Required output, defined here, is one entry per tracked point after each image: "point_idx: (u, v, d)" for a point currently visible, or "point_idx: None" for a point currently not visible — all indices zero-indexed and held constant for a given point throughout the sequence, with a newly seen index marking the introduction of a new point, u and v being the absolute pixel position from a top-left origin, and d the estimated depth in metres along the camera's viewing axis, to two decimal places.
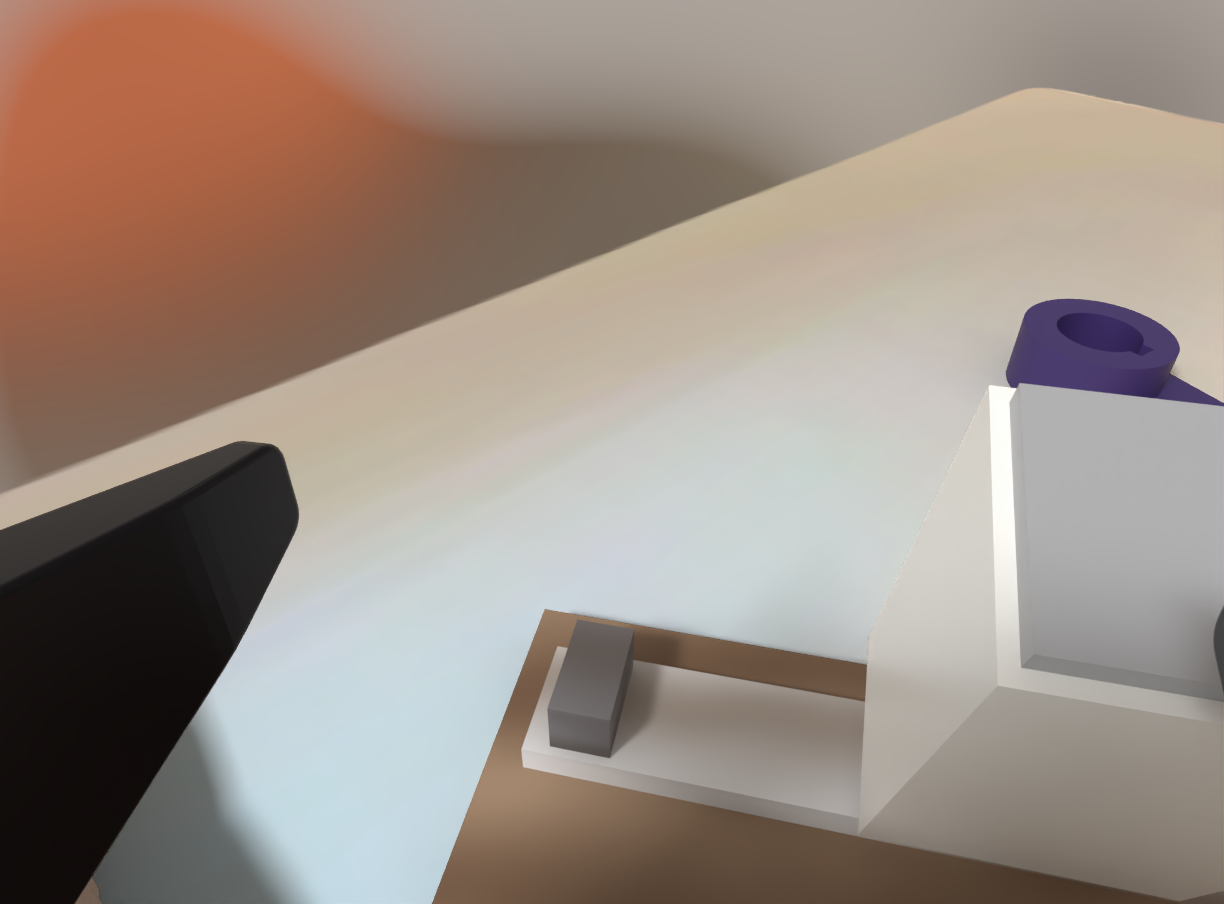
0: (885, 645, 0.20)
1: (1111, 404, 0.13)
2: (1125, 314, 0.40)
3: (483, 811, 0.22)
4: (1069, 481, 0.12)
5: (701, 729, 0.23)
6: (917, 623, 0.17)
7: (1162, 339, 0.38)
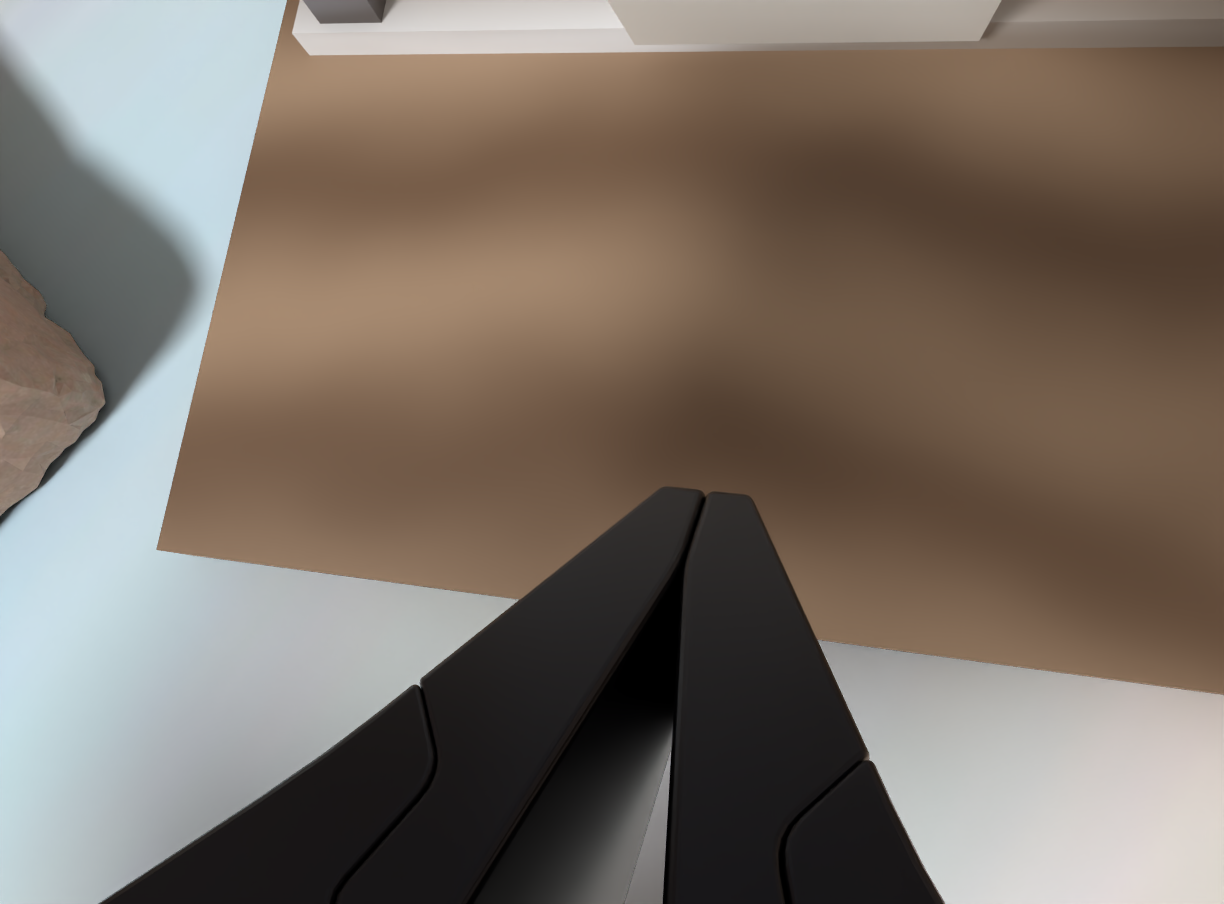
0: None
1: None
2: None
3: (276, 106, 0.21)
4: None
5: None
6: None
7: None
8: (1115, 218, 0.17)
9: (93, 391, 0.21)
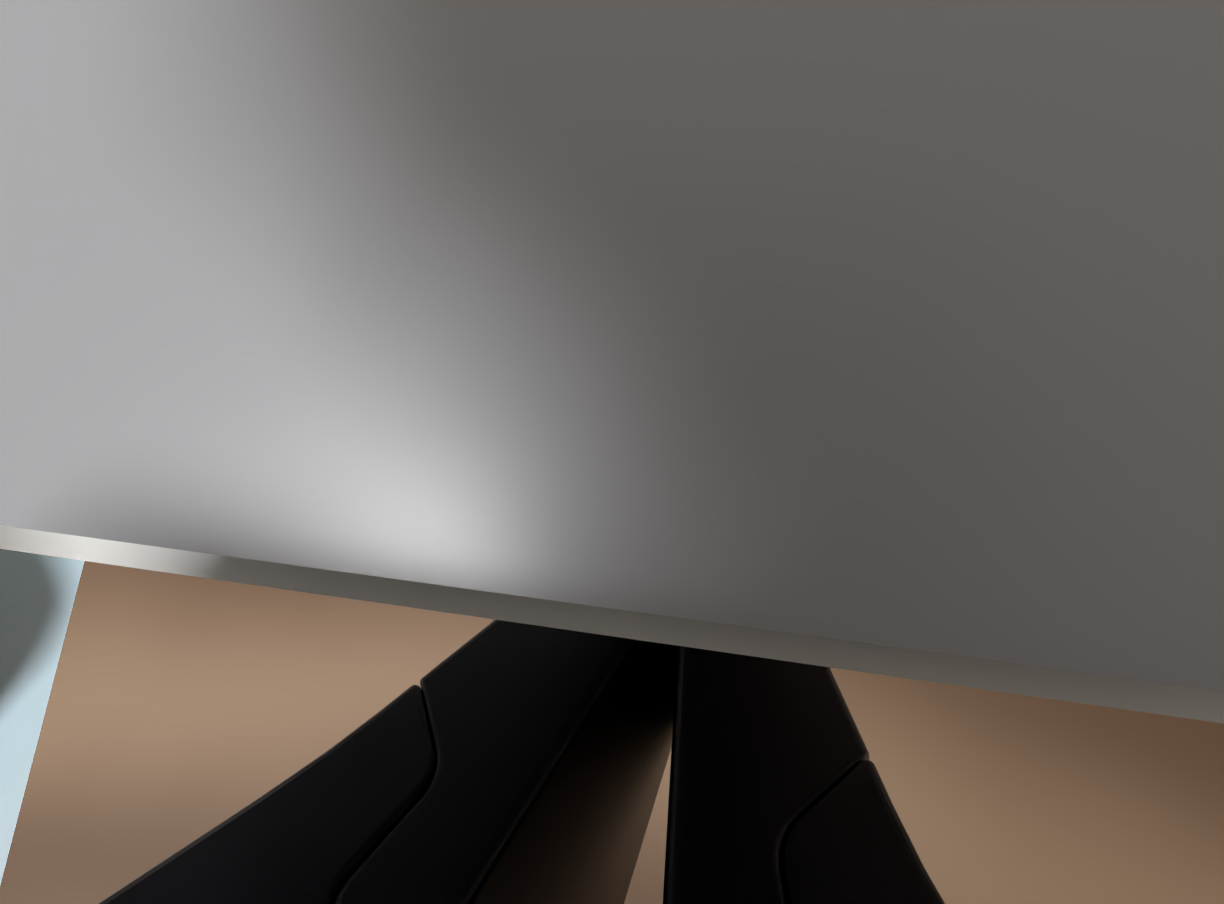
0: None
1: None
2: None
3: None
4: None
5: None
6: None
7: None
8: None
9: None
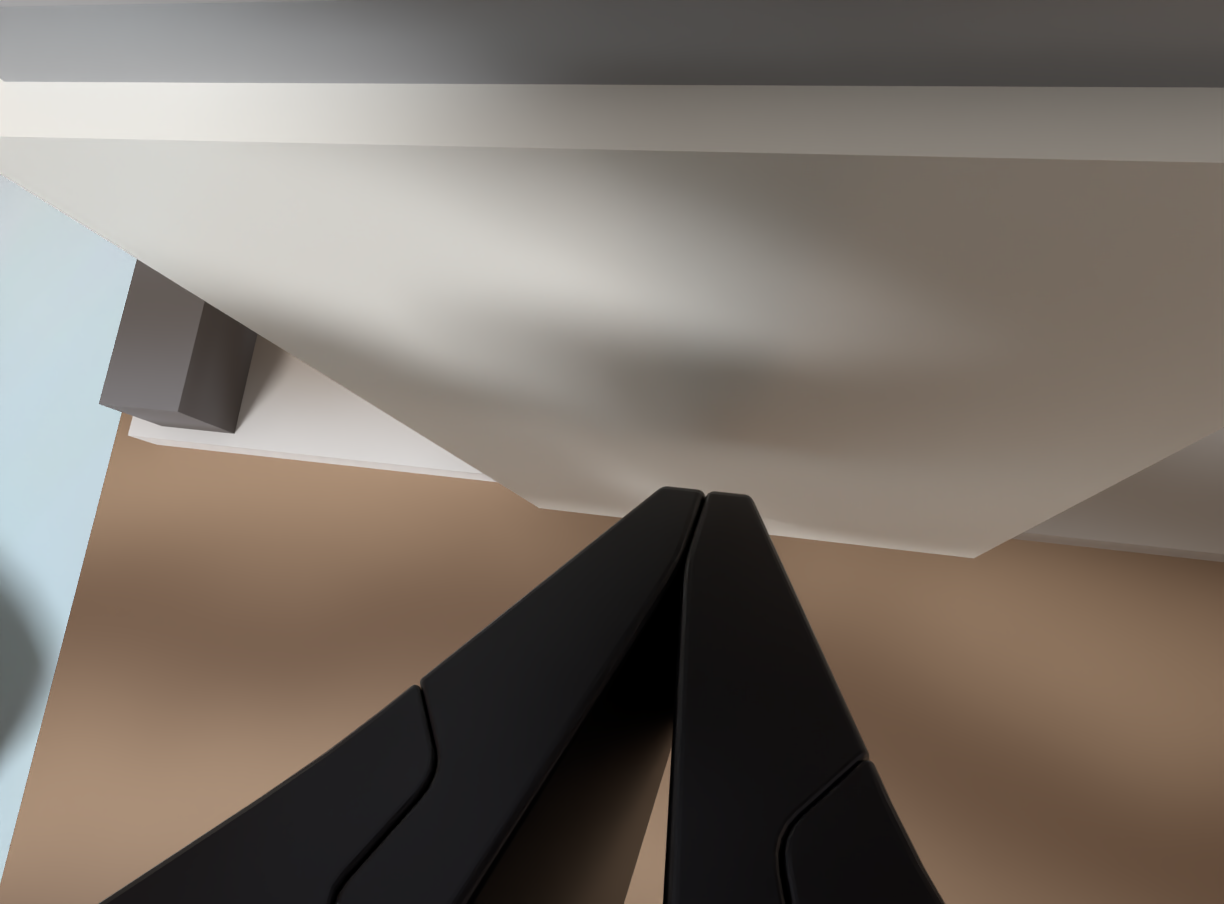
0: None
1: None
2: None
3: (114, 511, 0.17)
4: None
5: None
6: None
7: None
8: (1149, 805, 0.13)
9: None
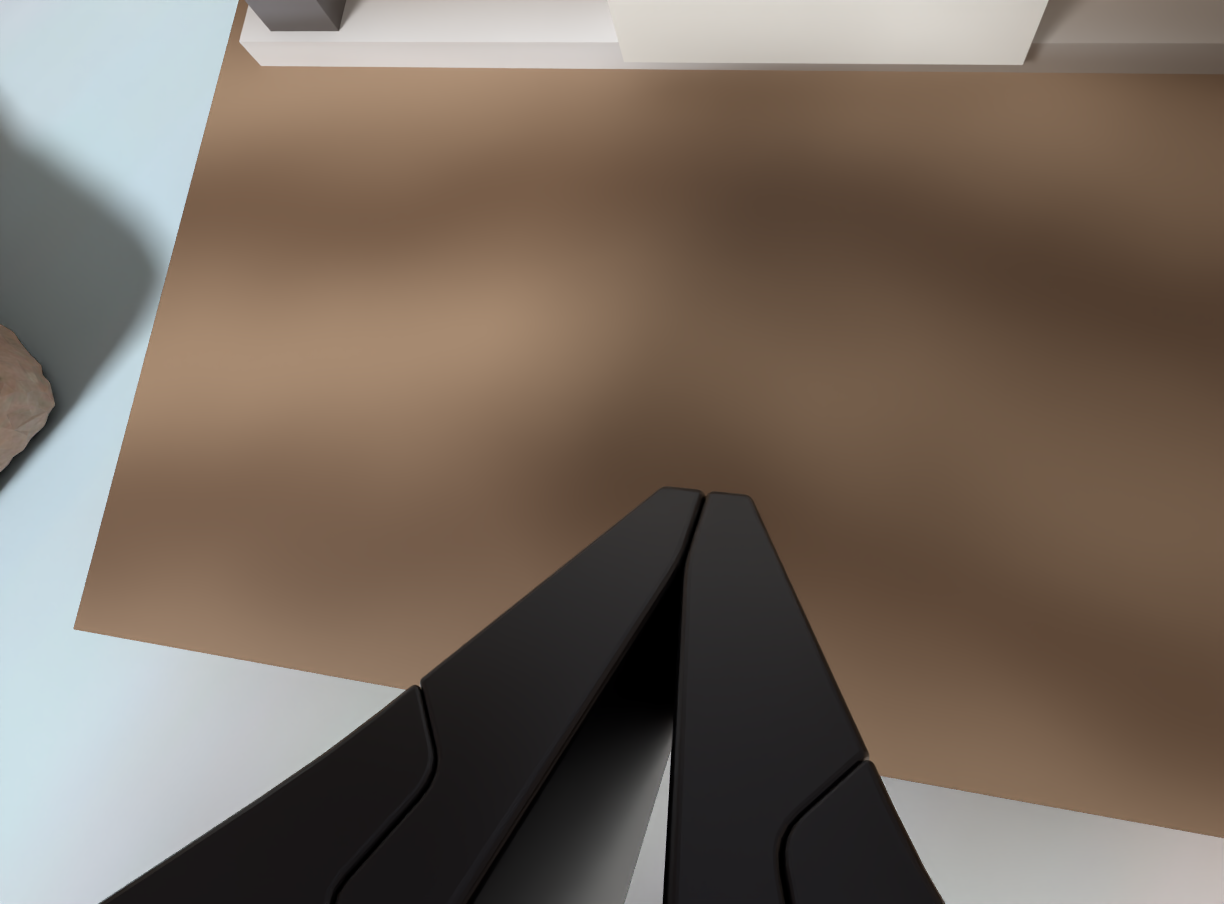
0: None
1: None
2: None
3: (222, 123, 0.19)
4: None
5: None
6: None
7: None
8: (1179, 275, 0.14)
9: (40, 392, 0.19)
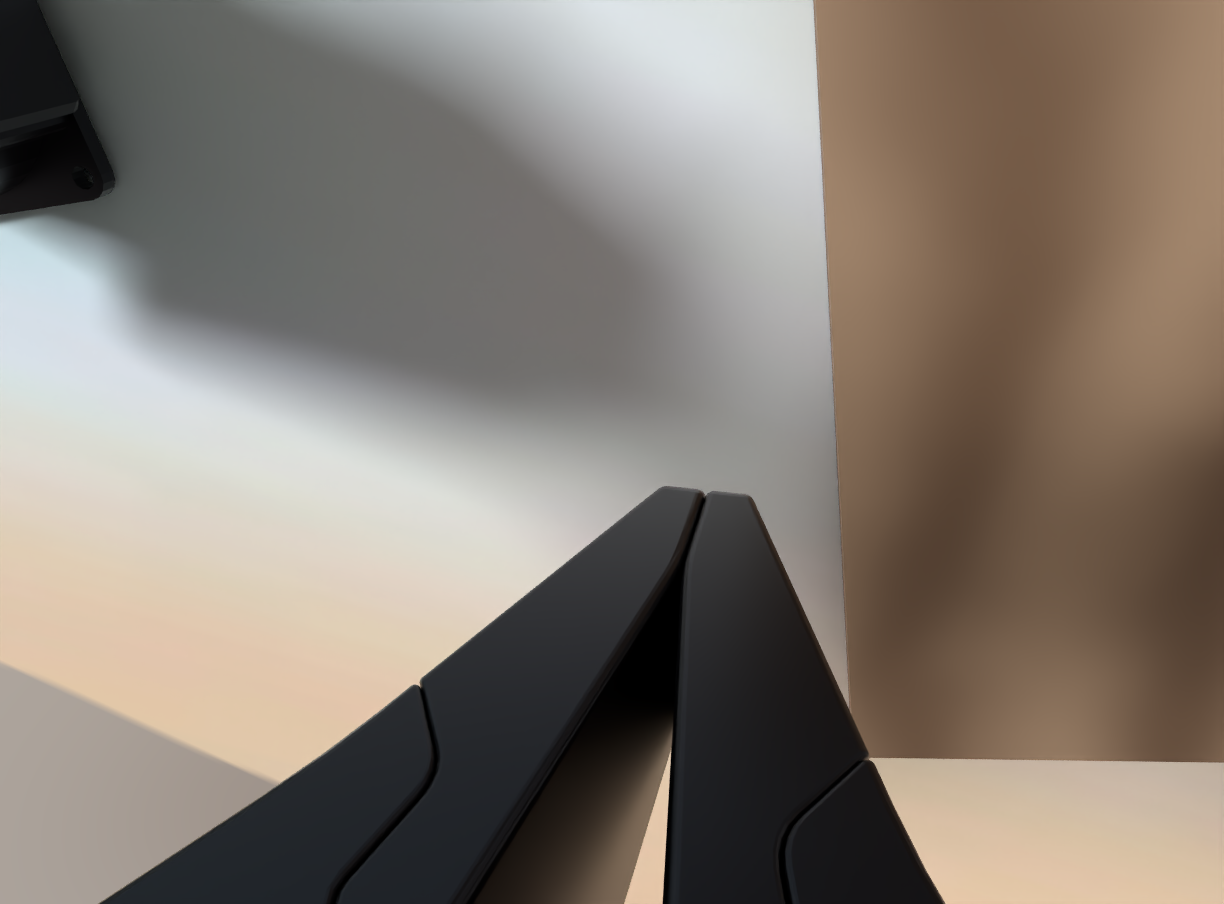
0: None
1: None
2: None
3: None
4: None
5: None
6: None
7: None
8: None
9: None
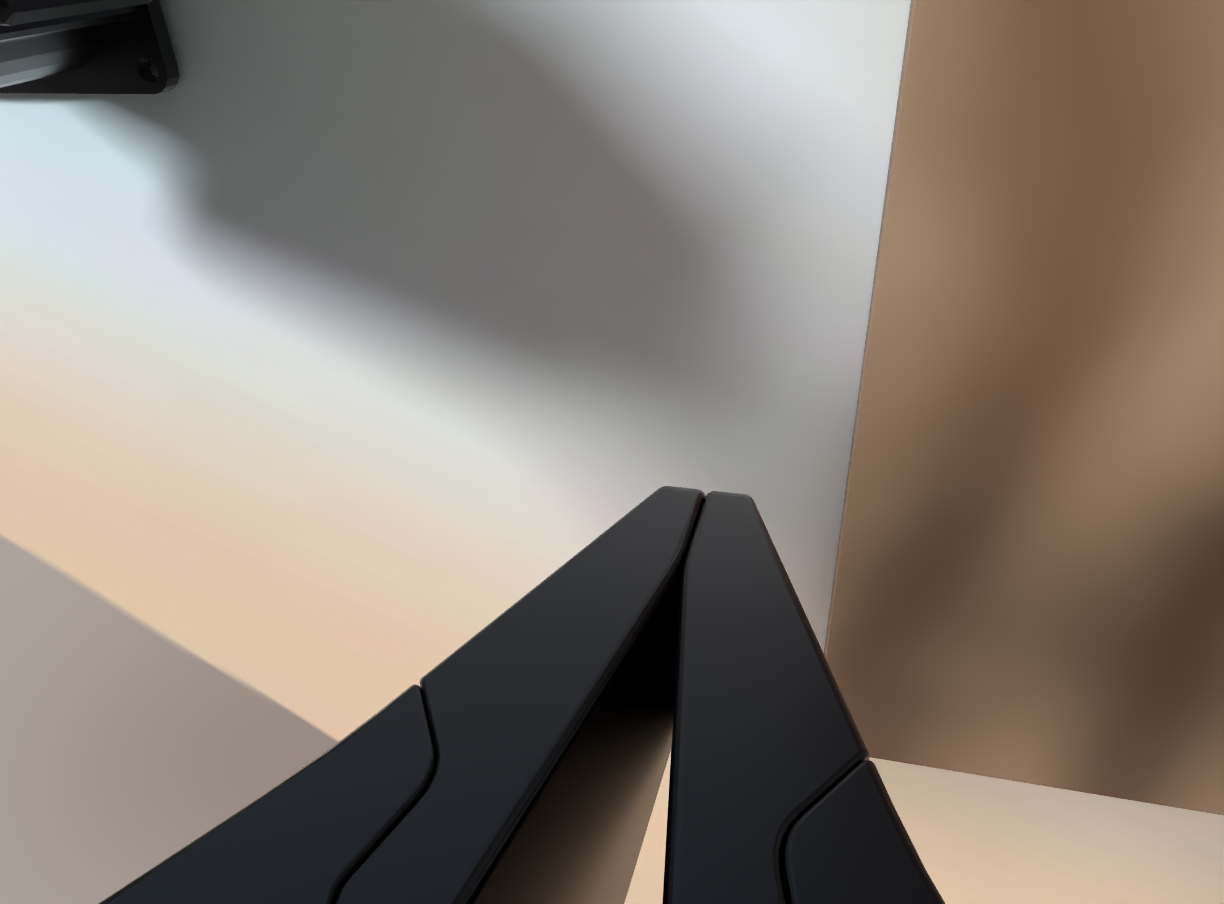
0: None
1: None
2: None
3: None
4: None
5: None
6: None
7: None
8: None
9: None
